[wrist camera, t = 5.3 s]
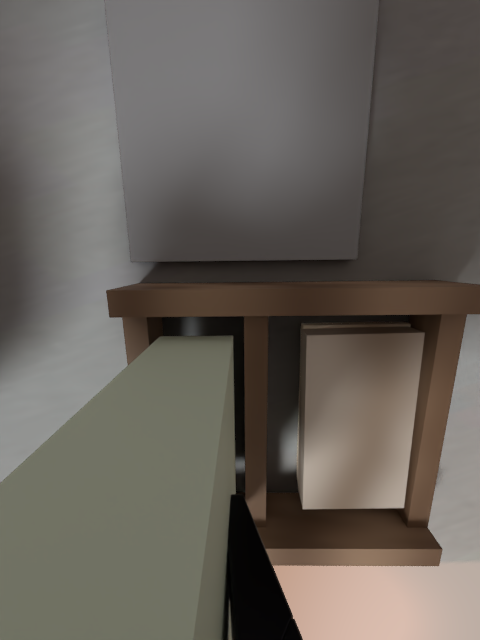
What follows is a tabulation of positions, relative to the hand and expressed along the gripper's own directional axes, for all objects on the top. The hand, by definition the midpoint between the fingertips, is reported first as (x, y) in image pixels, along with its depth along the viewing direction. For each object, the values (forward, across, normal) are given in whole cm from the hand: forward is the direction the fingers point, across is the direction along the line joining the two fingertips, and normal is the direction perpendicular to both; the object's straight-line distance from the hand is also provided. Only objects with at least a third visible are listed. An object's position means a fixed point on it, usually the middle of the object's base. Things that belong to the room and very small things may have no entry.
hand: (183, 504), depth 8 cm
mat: (+6, -2, -12) cm, 14 cm away
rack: (+6, -4, 0) cm, 7 cm away
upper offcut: (+5, -7, 0) cm, 9 cm away
